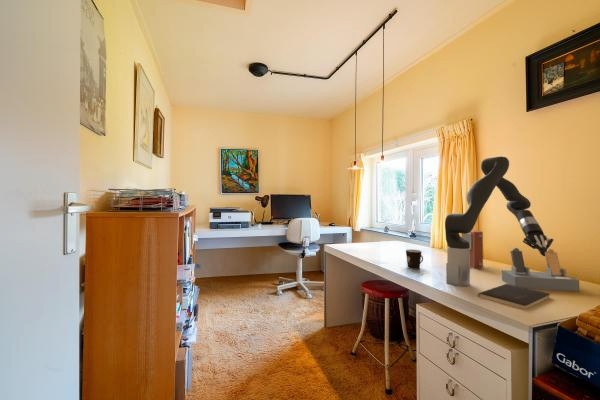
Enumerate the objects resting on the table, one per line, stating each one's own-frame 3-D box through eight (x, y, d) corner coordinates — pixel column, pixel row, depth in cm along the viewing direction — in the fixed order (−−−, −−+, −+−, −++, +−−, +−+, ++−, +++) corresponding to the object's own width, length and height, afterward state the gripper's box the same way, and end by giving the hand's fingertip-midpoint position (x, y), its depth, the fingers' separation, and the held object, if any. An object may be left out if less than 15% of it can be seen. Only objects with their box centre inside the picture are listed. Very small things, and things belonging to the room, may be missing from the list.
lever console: (515, 287, 123) (514, 269, 123) (501, 280, 134) (501, 263, 134) (579, 291, 117) (579, 272, 117) (560, 283, 129) (559, 266, 129)
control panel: (470, 263, 171) (485, 269, 156) (458, 263, 171) (473, 269, 156) (469, 229, 171) (485, 231, 156) (458, 229, 171) (473, 231, 156)
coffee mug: (404, 265, 166) (404, 249, 166) (419, 266, 164) (419, 249, 164) (408, 270, 154) (408, 252, 154) (424, 271, 152) (424, 253, 152)
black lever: (516, 272, 127) (511, 247, 131) (513, 272, 129) (509, 248, 133) (526, 272, 126) (521, 247, 130) (523, 273, 128) (518, 248, 132)
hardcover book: (550, 299, 110) (550, 293, 110) (525, 311, 98) (525, 304, 98) (504, 288, 124) (504, 283, 124) (478, 297, 112) (478, 292, 112)
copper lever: (552, 273, 124) (546, 248, 128) (548, 274, 126) (543, 249, 130) (562, 274, 123) (556, 248, 127) (559, 274, 125) (553, 249, 129)
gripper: (518, 222, 142) (533, 250, 130) (548, 222, 139) (566, 251, 127) (513, 231, 147) (526, 259, 135) (542, 232, 144) (558, 260, 132)
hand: (545, 255), depth 131 cm, fingers closed
